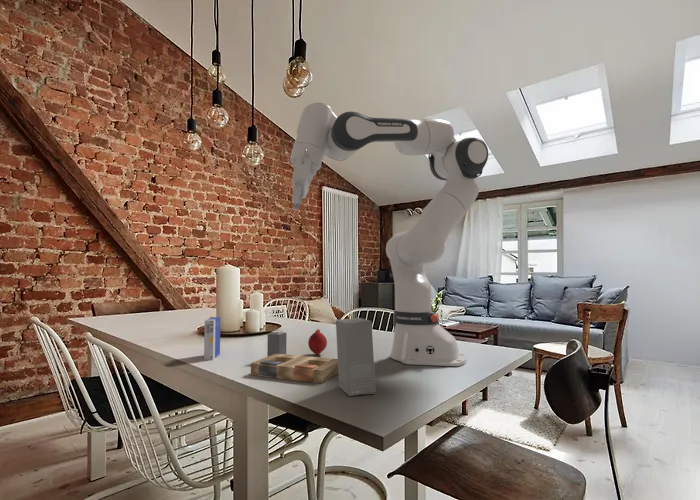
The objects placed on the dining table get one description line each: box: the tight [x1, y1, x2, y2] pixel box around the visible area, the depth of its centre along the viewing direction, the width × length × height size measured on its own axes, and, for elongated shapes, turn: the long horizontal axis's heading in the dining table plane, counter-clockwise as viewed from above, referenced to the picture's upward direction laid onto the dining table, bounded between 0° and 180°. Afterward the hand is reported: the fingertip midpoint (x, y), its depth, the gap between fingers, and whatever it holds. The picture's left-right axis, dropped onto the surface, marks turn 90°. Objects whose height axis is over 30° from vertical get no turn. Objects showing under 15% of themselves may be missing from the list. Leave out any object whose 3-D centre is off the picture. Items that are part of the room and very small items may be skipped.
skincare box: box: [335, 317, 377, 397], centre depth 88 cm, size 8×7×16 cm
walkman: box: [203, 315, 221, 361], centre depth 120 cm, size 8×3×12 cm, turn 4°
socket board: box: [250, 353, 338, 384], centre depth 102 cm, size 20×12×3 cm, turn 69°
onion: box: [307, 328, 328, 356], centre depth 123 cm, size 6×6×8 cm
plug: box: [266, 329, 288, 357], centre depth 116 cm, size 4×4×9 cm
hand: (295, 206), depth 108 cm, fingers open, 8 cm apart
